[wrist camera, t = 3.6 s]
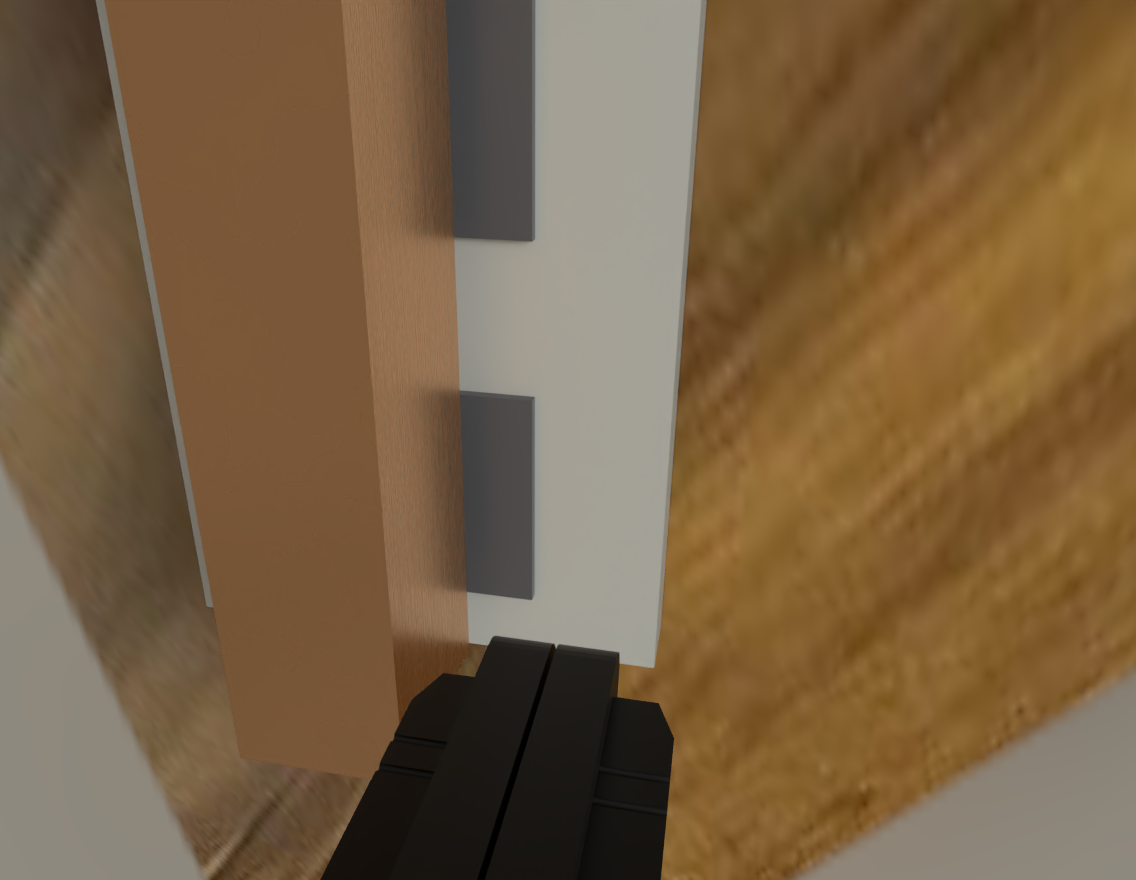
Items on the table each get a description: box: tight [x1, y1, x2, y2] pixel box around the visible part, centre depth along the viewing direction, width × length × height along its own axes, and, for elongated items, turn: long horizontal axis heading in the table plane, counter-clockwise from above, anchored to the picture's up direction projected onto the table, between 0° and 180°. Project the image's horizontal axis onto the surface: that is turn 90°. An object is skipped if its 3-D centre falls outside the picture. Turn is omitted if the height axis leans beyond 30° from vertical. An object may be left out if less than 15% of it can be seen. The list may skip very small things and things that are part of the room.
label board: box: [96, 0, 707, 668], centre depth 21 cm, size 14×28×3 cm, turn 179°
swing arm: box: [104, 0, 469, 780], centre depth 17 cm, size 4×26×5 cm, turn 179°
